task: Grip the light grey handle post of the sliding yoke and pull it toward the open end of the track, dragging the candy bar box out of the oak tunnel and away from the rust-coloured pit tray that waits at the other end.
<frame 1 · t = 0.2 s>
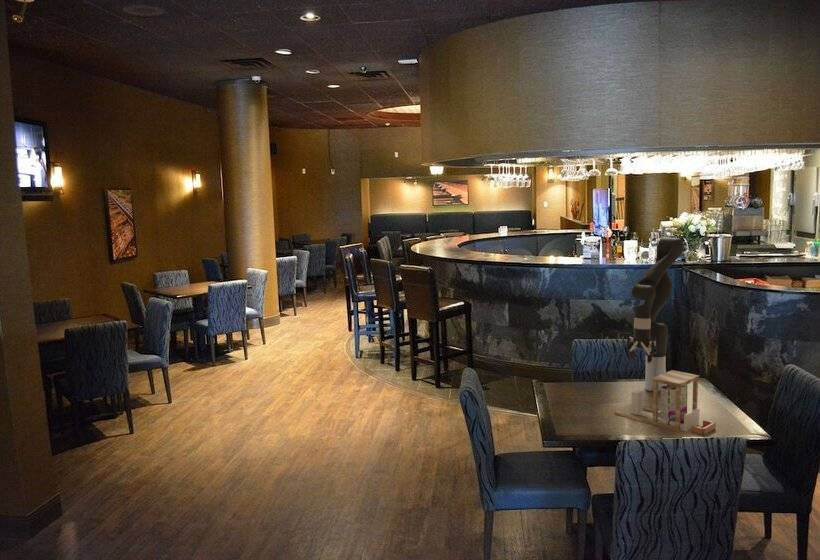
hand: (640, 360, 320), 17 cm above the table, tool pointing down, fingers open, 8 cm apart
pit tray: (703, 431, 277), on the table
sled: (662, 408, 290), point 5 cm above the table, slide at 0.7 cm, touching candy bar box
tunnel: (674, 423, 286), on the table
candy bar box: (673, 423, 287), resting in sled
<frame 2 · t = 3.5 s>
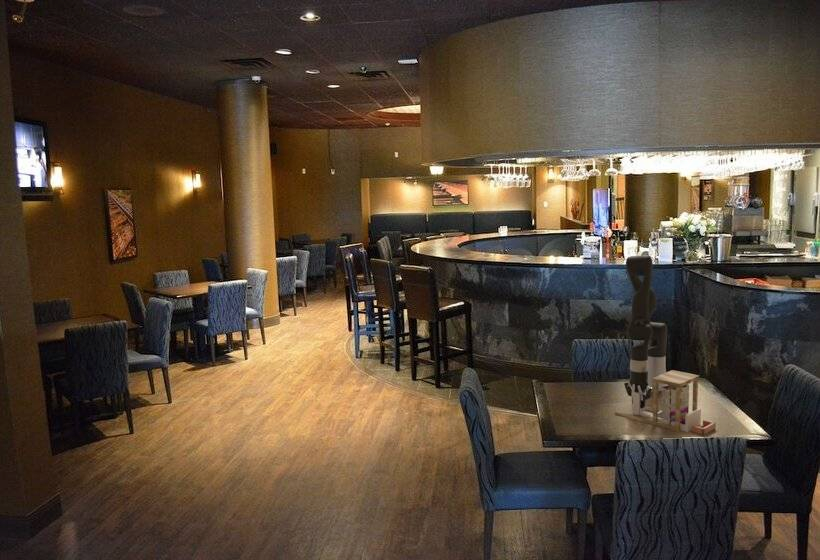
hand: (638, 406, 299), 3 cm above the table, tool pointing down, fingers closed on sled, 3 cm apart
sled: (663, 409, 289), point 5 cm above the table, slide at 0.1 cm, touching candy bar box, gripper
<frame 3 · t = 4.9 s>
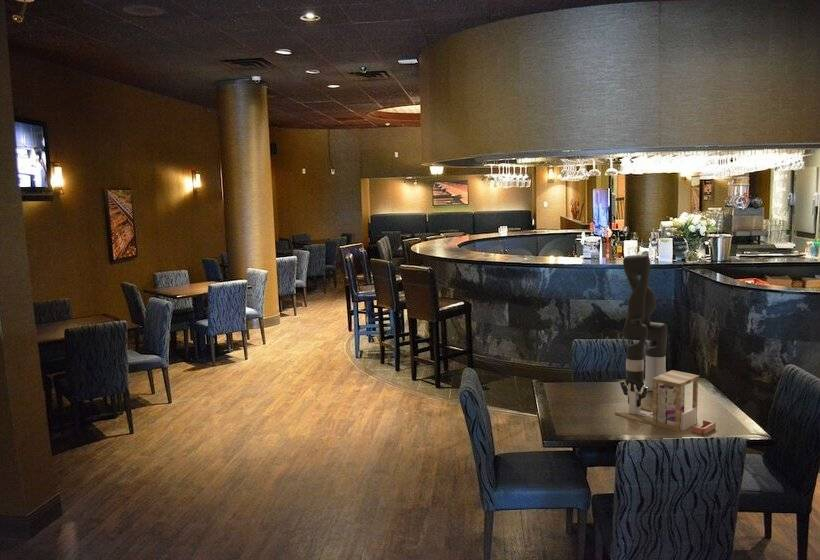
hand: (634, 405, 301), 3 cm above the table, tool pointing down, fingers closed on sled, 3 cm apart
sled: (659, 407, 291), point 5 cm above the table, slide at 1.9 cm, touching candy bar box, gripper
candy bar box: (670, 422, 288), resting in sled
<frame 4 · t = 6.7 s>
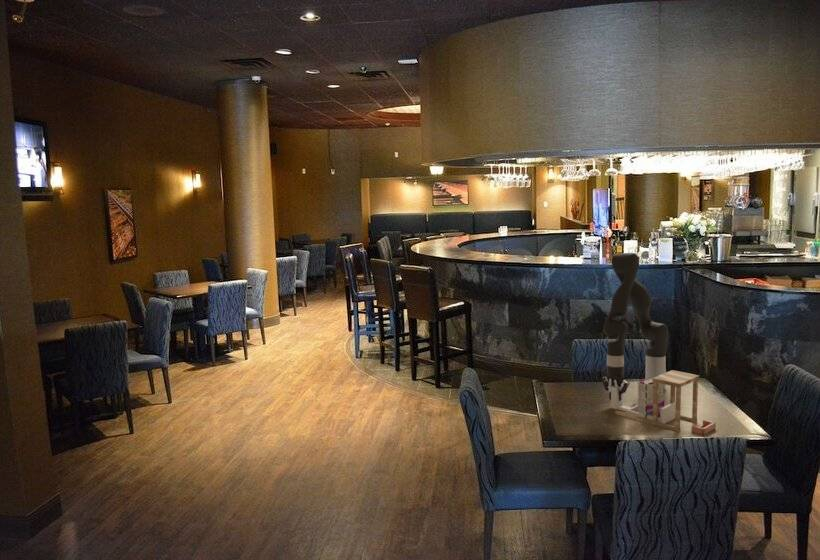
hand: (615, 400, 308), 3 cm above the table, tool pointing down, fingers closed on sled, 2 cm apart
sled: (640, 403, 298), point 5 cm above the table, slide at 11.1 cm, touching candy bar box, gripper
candy bar box: (650, 416, 295), resting in sled
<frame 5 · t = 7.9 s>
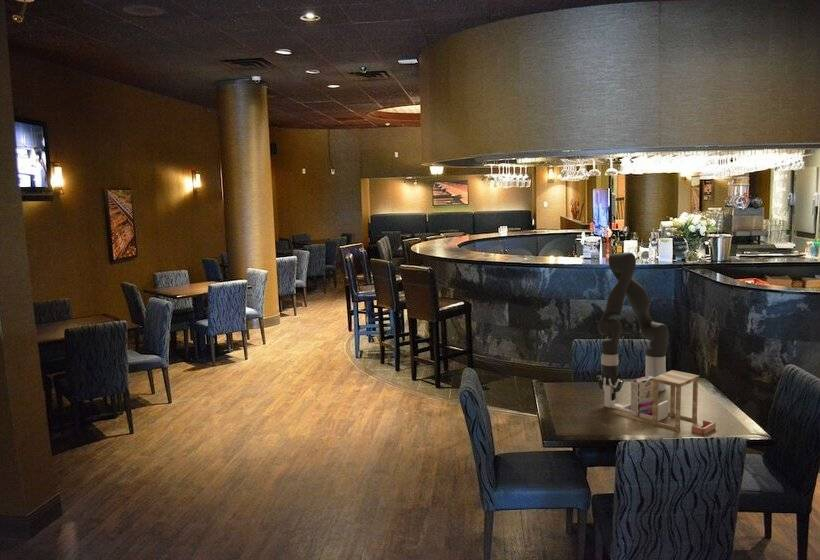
hand: (609, 399, 310), 3 cm above the table, tool pointing down, fingers closed on sled, 2 cm apart
sled: (633, 401, 300), point 5 cm above the table, slide at 14.7 cm, touching candy bar box, gripper
candy bar box: (643, 414, 297), resting in sled
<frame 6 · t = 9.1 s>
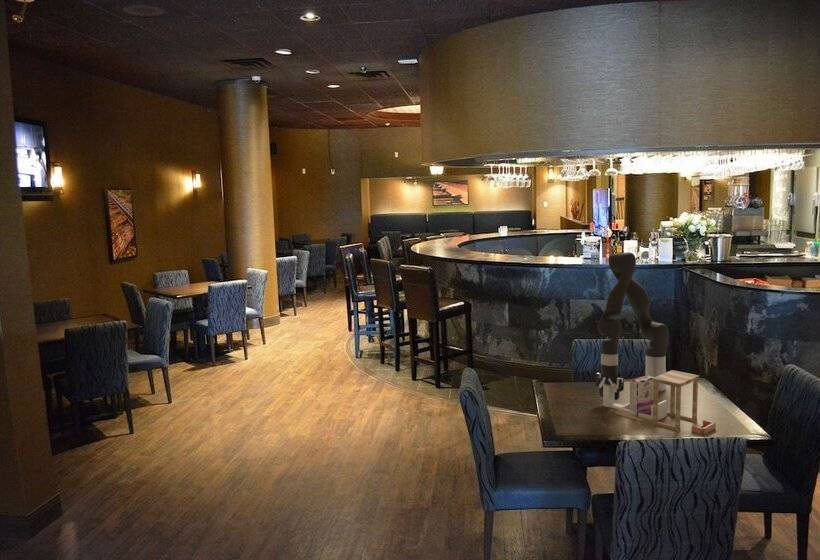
hand: (609, 397, 310), 4 cm above the table, tool pointing down, fingers open, 7 cm apart
sled: (632, 400, 301), point 5 cm above the table, slide at 15.2 cm, touching candy bar box
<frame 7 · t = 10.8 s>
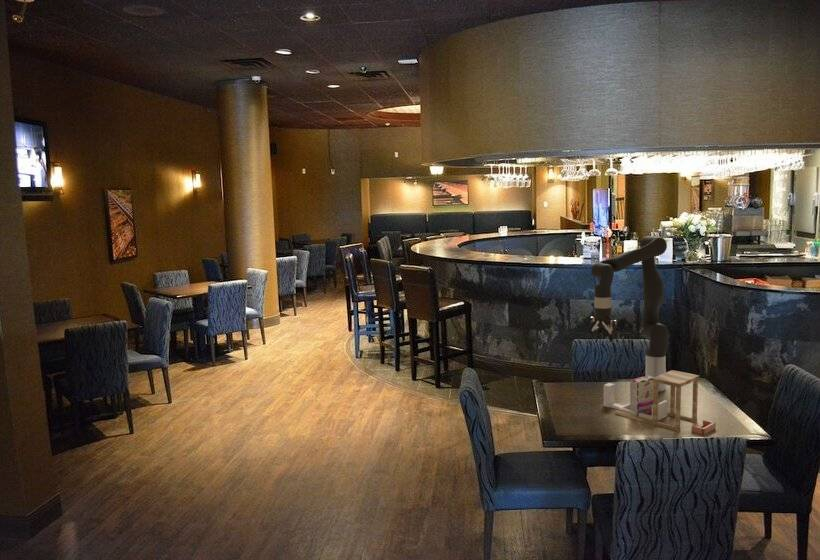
hand: (603, 340, 316), 29 cm above the table, tool pointing down, fingers open, 8 cm apart
nothing on the table moved.
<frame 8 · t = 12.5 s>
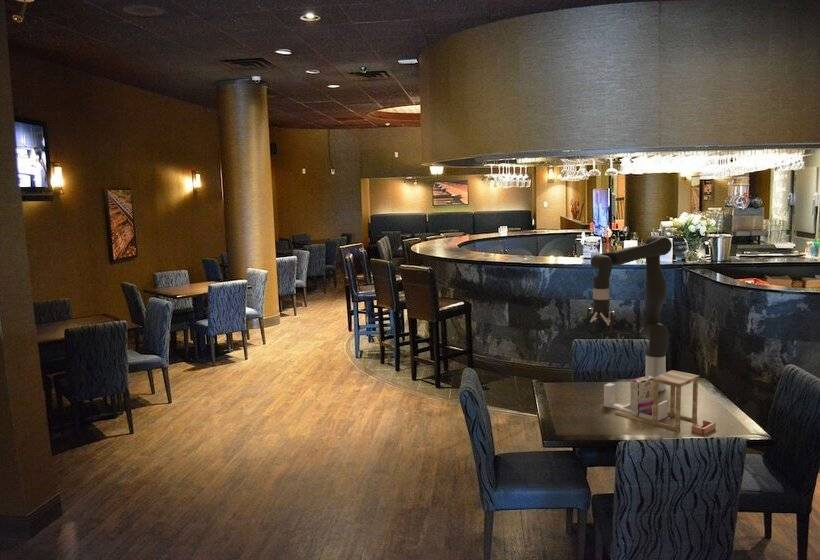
hand: (601, 331, 318), 32 cm above the table, tool pointing down, fingers open, 8 cm apart
nothing on the table moved.
at the end: candy bar box inside the target area on the tunnel (5.2 cm from its centre), point 0.1 cm above the tunnel's base; candy bar box tilted 0°; sled slide at 14.8 cm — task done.
